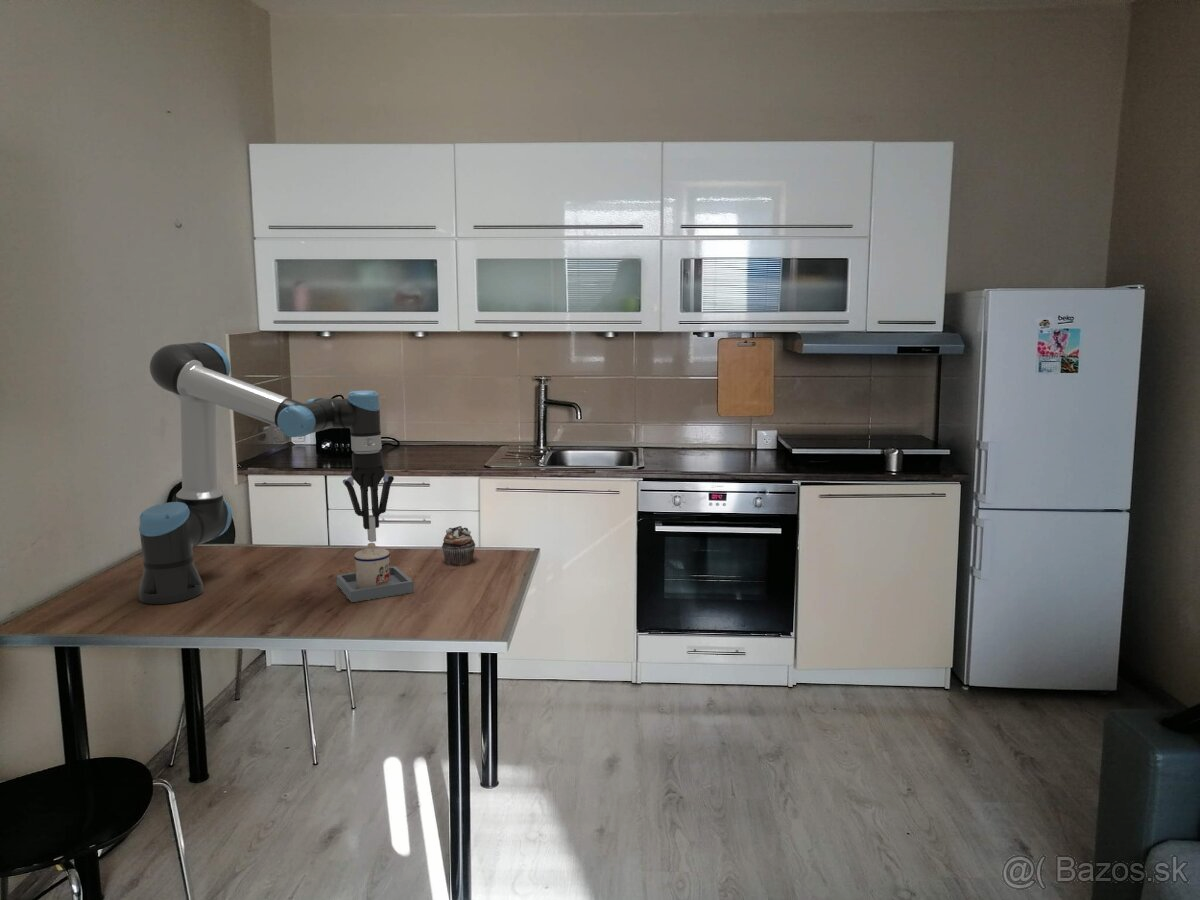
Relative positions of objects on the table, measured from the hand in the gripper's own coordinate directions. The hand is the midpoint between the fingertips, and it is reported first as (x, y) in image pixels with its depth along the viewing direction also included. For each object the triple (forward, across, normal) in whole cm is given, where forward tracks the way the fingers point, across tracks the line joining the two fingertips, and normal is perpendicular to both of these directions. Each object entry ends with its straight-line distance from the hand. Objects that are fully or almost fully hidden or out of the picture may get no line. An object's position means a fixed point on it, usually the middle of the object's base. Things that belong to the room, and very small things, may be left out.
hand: (372, 540), depth 234 cm
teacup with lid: (+12, 0, 0) cm, 12 cm away
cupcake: (+14, +28, +13) cm, 34 cm away
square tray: (+13, 0, 0) cm, 13 cm away
